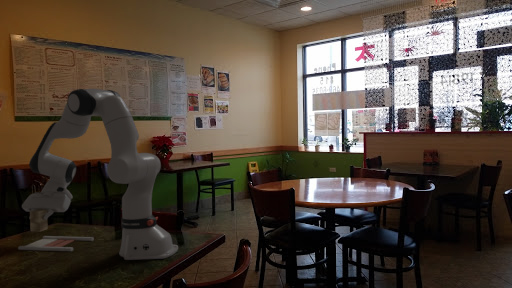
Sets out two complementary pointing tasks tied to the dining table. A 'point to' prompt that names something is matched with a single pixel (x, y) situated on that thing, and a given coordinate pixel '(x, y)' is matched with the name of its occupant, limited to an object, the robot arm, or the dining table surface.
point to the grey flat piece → (53, 243)
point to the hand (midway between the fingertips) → (37, 219)
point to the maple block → (38, 220)
